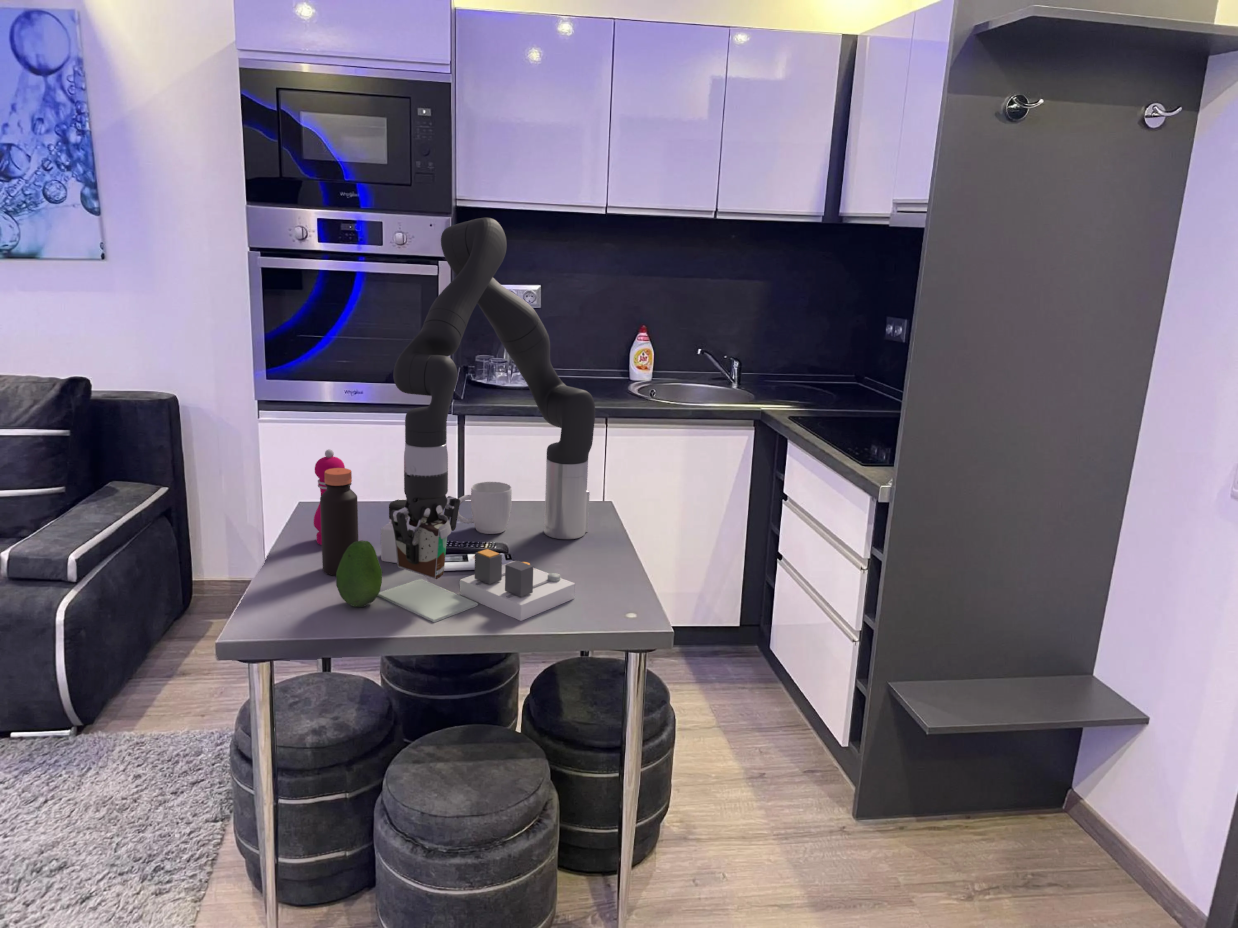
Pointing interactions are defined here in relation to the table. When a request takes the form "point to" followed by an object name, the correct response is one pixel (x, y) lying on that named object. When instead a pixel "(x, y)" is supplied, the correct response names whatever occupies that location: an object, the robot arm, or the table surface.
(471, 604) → the pad
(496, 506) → the mug
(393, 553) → the medicine bottle
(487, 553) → the toggle
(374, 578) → the avocado
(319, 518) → the pepper mill
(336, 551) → the vinegar
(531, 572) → the toggle
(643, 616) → the table surface
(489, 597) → the panel
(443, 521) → the food container
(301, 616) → the table surface
